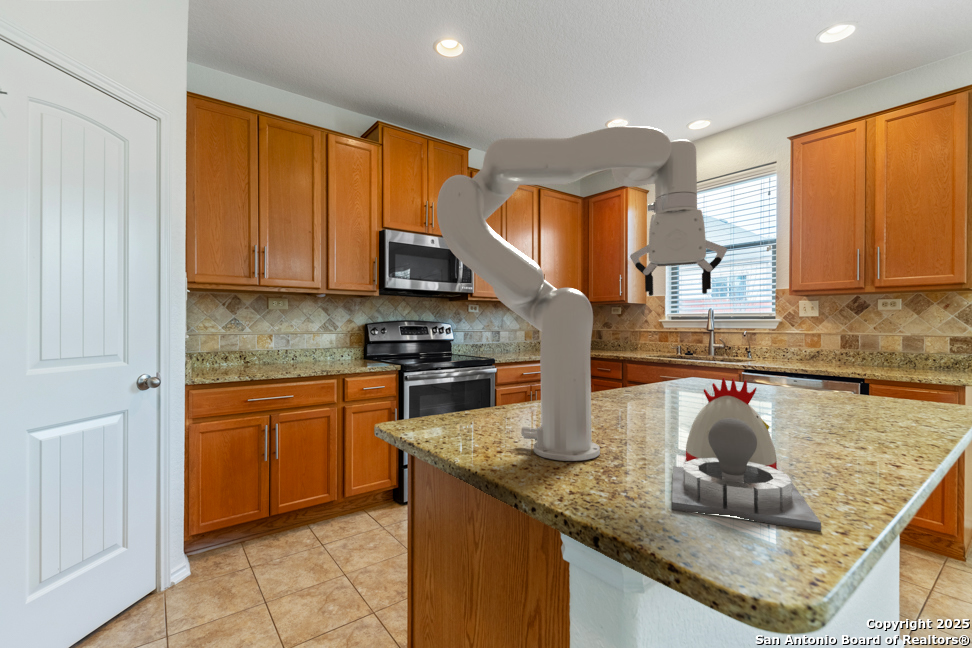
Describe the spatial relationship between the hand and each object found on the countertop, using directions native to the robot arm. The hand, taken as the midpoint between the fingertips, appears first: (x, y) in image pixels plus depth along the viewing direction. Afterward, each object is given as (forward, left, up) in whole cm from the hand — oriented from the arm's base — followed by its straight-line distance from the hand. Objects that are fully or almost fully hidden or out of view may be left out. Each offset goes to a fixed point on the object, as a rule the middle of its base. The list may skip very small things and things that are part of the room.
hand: (677, 294), depth 86 cm
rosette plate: (+7, -23, -30) cm, 39 cm away
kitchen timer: (+8, -6, -31) cm, 32 cm away
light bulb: (+7, -23, -30) cm, 38 cm away
